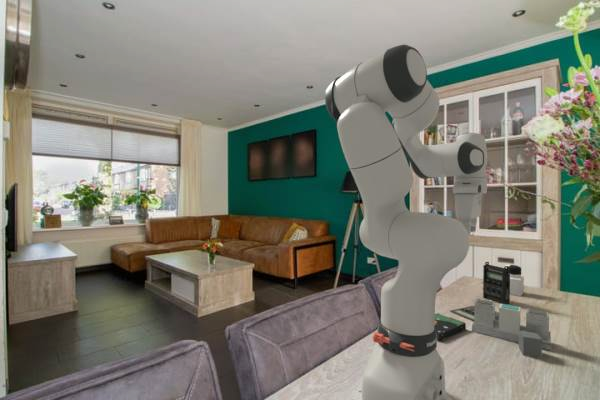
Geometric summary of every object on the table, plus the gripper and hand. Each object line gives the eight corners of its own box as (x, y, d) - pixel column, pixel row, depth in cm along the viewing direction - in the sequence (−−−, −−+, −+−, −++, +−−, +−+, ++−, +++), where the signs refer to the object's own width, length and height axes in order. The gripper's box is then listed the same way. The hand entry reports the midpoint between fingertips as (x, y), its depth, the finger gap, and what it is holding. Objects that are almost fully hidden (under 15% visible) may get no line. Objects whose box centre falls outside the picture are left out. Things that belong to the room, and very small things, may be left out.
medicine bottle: (523, 292, 131) (524, 265, 131) (521, 296, 126) (521, 268, 126) (504, 289, 136) (504, 263, 136) (501, 292, 131) (501, 265, 131)
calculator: (508, 315, 105) (479, 322, 99) (508, 318, 105) (479, 325, 99) (477, 304, 116) (449, 310, 110) (477, 306, 116) (449, 312, 110)
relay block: (541, 358, 78) (541, 339, 78) (523, 355, 80) (523, 336, 80) (536, 351, 82) (536, 333, 82) (518, 348, 83) (519, 330, 83)
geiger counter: (478, 297, 125) (479, 261, 125) (486, 296, 127) (486, 260, 127) (503, 306, 115) (504, 267, 115) (511, 304, 117) (512, 266, 117)
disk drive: (439, 344, 87) (466, 330, 95) (439, 334, 87) (466, 322, 95) (409, 330, 95) (436, 319, 104) (409, 322, 95) (436, 311, 104)
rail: (550, 350, 82) (551, 317, 82) (472, 331, 94) (472, 302, 94) (550, 342, 87) (550, 310, 86) (475, 324, 98) (475, 297, 98)
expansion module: (519, 335, 87) (519, 310, 87) (498, 330, 90) (499, 306, 90) (520, 330, 90) (520, 306, 90) (500, 325, 93) (500, 302, 93)
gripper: (464, 188, 101) (464, 229, 101) (451, 187, 85) (450, 235, 85) (486, 188, 97) (486, 230, 97) (476, 186, 81) (476, 237, 81)
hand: (469, 233), depth 91 cm, fingers open, 8 cm apart
